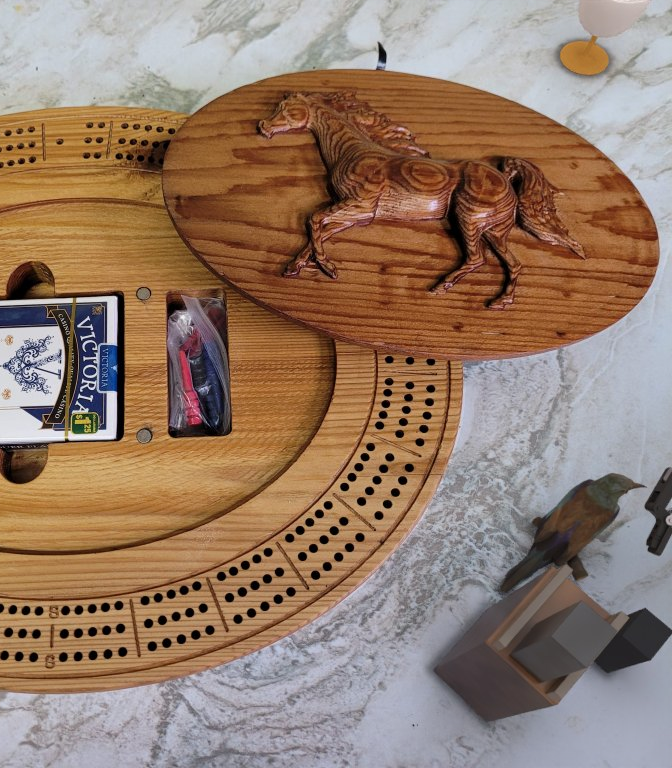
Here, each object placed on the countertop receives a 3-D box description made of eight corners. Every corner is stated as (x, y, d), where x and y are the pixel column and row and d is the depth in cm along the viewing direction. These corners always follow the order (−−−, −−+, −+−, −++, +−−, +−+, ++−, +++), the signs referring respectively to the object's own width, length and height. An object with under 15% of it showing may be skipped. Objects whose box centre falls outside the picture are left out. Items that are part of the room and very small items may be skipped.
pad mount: (619, 627, 91) (680, 602, 79) (553, 706, 87) (606, 693, 76) (550, 567, 94) (599, 536, 82) (484, 642, 91) (525, 620, 79)
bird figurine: (532, 625, 112) (638, 543, 100) (476, 569, 116) (572, 482, 104) (568, 585, 121) (671, 505, 108) (516, 534, 125) (609, 451, 112)
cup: (546, 71, 158) (583, -6, 143) (558, 31, 163) (595, -48, 147) (610, 86, 156) (654, 10, 140) (620, 45, 160) (664, -34, 145)
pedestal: (542, 657, 111) (619, 627, 91) (486, 722, 108) (553, 706, 87) (488, 608, 114) (550, 567, 94) (432, 669, 111) (484, 642, 91)
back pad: (629, 646, 111) (674, 631, 100) (607, 673, 110) (650, 660, 99) (603, 624, 113) (645, 607, 102) (581, 650, 111) (621, 635, 101)
